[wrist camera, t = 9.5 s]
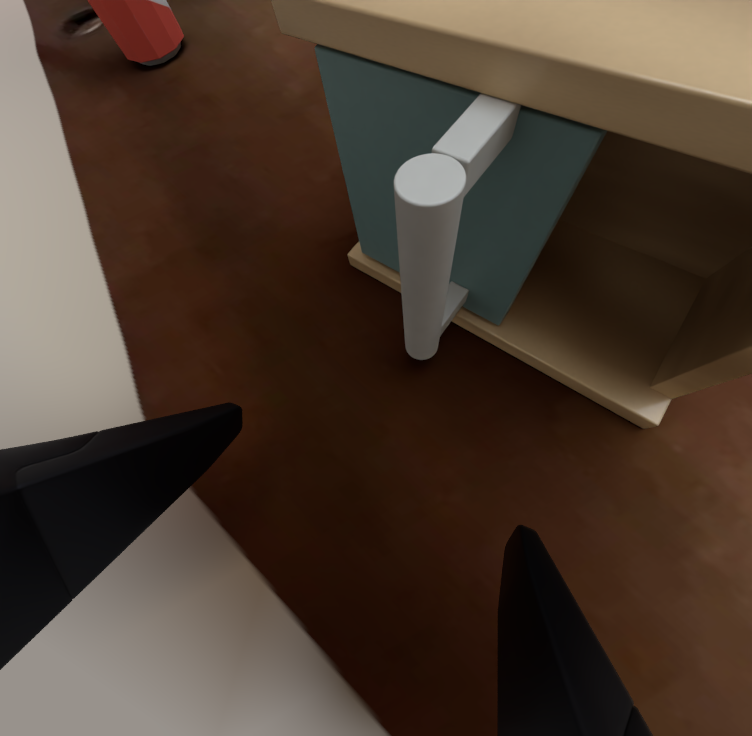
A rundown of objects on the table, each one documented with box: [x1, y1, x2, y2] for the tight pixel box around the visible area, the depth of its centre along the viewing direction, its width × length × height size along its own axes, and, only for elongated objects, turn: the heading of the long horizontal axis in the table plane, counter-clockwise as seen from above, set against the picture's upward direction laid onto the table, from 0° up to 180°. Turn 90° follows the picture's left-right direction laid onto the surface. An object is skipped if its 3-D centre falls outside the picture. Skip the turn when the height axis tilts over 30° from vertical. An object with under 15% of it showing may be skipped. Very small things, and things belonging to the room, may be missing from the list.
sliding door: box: [315, 44, 607, 360], centre depth 12 cm, size 5×9×10 cm, turn 53°
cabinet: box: [271, 0, 752, 429], centre depth 13 cm, size 10×18×12 cm, turn 53°
